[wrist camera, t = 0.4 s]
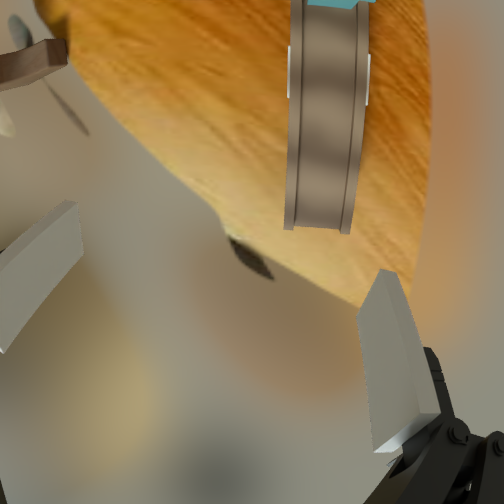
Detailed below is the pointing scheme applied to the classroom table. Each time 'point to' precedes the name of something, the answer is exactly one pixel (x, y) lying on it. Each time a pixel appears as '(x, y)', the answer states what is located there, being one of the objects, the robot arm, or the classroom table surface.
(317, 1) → the rider
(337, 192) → the wooden bench
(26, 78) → the wooden block
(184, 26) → the classroom table surface
